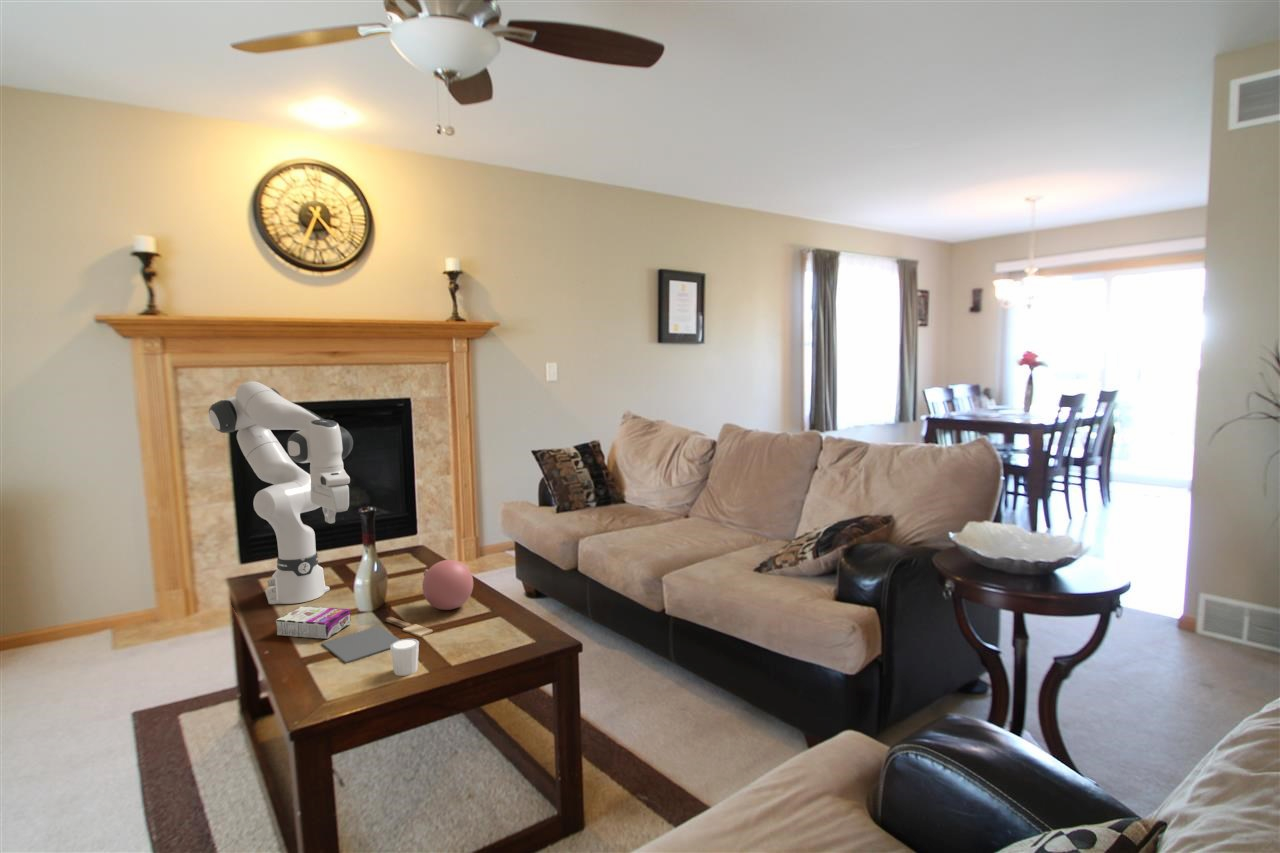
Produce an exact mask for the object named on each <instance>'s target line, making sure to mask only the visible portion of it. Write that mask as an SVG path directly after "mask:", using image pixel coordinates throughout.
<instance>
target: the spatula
mask: <svg viewBox="0 0 1280 853" xmlns="http://www.w3.org/2000/svg"><path fill="white" fill-rule="evenodd" d="M385 621H386V622H387V623H389V624H392V625H395V626H398V627H399V628H402V631H403V632H406V633H408V634H410V635H413V636H416V637H419V638H421V637H423V636H427V635H429V634H430V633H433V632H434V629H431V628H427V627H425V626H423V625H419V624H417V623H415V624H412V623H410V622H407V621H404V620H401V619H398V618H395V617H393V616H389V617H386V618H385Z"/></svg>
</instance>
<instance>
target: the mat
mask: <svg viewBox="0 0 1280 853" xmlns="http://www.w3.org/2000/svg"><path fill="white" fill-rule="evenodd" d="M398 640H401V639H400V638H398V637H397V636H396V635H394V634H392V633H391V632H389V631H387V630H386V629H384V628H382V627H381V626H379V625H378V626H374V627H370V628H367V629H363V630H360V631H356V632H353V633H350V634H347V635H343V636H340V637H336V638H334V639H330V640H326V641H322V642H321V646H323V647H324V648H325V649H327V650H328V651H329V652H331V653H332V654H333V655H334V656H336V657H337V658H338V659H340V660H341V661H342V662H343V663H345V664H349V663H353V662H355V661H359V660H362V659H365V658H367V657H370V656H371V657H372V656H374V655H377V654H379V653H383V652H386V651H389V650H390V651H391V649H390V646H391V644H392V643H394V642H396V641H398Z"/></svg>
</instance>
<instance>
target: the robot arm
mask: <svg viewBox="0 0 1280 853" xmlns="http://www.w3.org/2000/svg"><path fill="white" fill-rule="evenodd" d="M208 418H209V421H210V424H211V425H212V426H213V427H214V428H215V430H217V432H219V433H222V434H227V433H234V432H235V431H237V433H236V440H237V443H238V445H239V449H240V450H241V452H242V454H243V456H244V457H245V460H246V461H247V462H248V464H249V465H250V467H251V469H252V470H253V472H254V474H255V475H256V476H257V478H258V479H260V480H261V481H262V482H265V483H268V484H272V485H269V486H267V487H265V488H263V489H261V490H259V491H257V492H256V493H255V496H254V497H253V504H252V505H253V510H254V511H255V513H256V514H257V516H259V517H260V518H261V519H263V520H266V521H267V522H268V524H269V525H270V526H271V527H272V529H273V531H274V533H275V536H276V542H277V550H278V552H277V554H278V557H277V560H276V568H277V569H276V570H275V572H274V573H273V574H272V576H271V578H270V579H267V587H268V588H265V596H266V599H267V602H268V605H277V604H278V605H279V604H285V605H289V604H290V605H292V604H299V603H304V602H310V601H312V600H313V601H314V600H316V599H318V598H320V597H322V596H324V594H325V593H327V592H329V591H330V590H331V589H330V586H328V585H326V582H325V576H324V569H323V567H322V566H320V565H319V555H318V552H317V549H316V548H317V547H316V546H317V545H316V534H315V531H314V529H313V528H312V527H311V526H309V525H307V524H304V523H303V521H302V518H301V514H303V513H307V512H311V511H315V510H317V509H319V508H321V507H322V508H321V509H322V512H323V513H322V514H323V515H324V521H325V522H326V523H327V524H331V525H332V524H335V522H336V515H337V513H342V512H346V511H348V509H349V507H350V487H349V484H350V482H351V478H350V476H349V475H348V473H347V472H346V470H345V469H344V461H343V460H345V459H346V458H347V457H348V456H349V455H350V453H351V452H352V450H353V448H354V447H353V446H354V440H353V437H352V435H351V433H350V432H349V431H348V430H347V429H346V428H344V427H343V426H340V425H339V423H338V422H336V421H335V420H331V419H325V418H323V417H321V416H320V415H318V414H316V413H315V412H313V411H311V410H309V409H307V408H305V407H303V406H301V405H299V404H296V403H294V402H292V401H290V400H289V399H286V398H285V397H283V396H282V395H281V394H280V392H279V391H278V390H276V389H275V388H273V387H269V386H267V385H265V384H263V383H262V382H258V381H256V380H255V381H253V380H252V381H246V382H244V383H241V385H239V386H238V388H237V389H236V391H235V395H234V396H231V397H229V398H226V399H224V400H222V399H221V400H219V401H217V402H216V401H215V403H213V404H212V405H211V406H210V407H209V410H208ZM272 430H273V431H275V430H276V431H277V430H278V431H280V430H281V431H283V430H284V431H285V430H287V431H288V430H292V431H294V430H295V432H293V433H292V434H290V435H289V437H288V439H287V441H286V450H285V448H284V447H283V446H282V444H281V443H280V442H279V440H278V438H277V437H276V436H275V435H274V433H273V432H272ZM286 451H287V452H286ZM296 463H298V464H308V463H310V465H309V473H308V472H307V471H305V470H304V469H303V468H301V467H300V466H298V465H297V464H296Z"/></svg>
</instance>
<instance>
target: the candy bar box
mask: <svg viewBox="0 0 1280 853" xmlns="http://www.w3.org/2000/svg"><path fill="white" fill-rule="evenodd" d="M351 623H352V618H351V609H350V608H337V607H335V608H333V607H321V606H320V607H319V606H307V605H306V606H304V605H300V606H299V607H297V608H295V609H294V610H292V611H290V612H288V613H286V614H284V615H283V616H280V617H279V618H277V619H276V620H275V624H276V626H275V627H276V635H277V636H283V637H285V636H286V637H293V638H308V639H322V640H327V639H330V638H331V637H333V636H334V635H336V634H337V633H339V632H340V631H342V630H343V629H345V628H346V627H349V626H350V625H351Z"/></svg>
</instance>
